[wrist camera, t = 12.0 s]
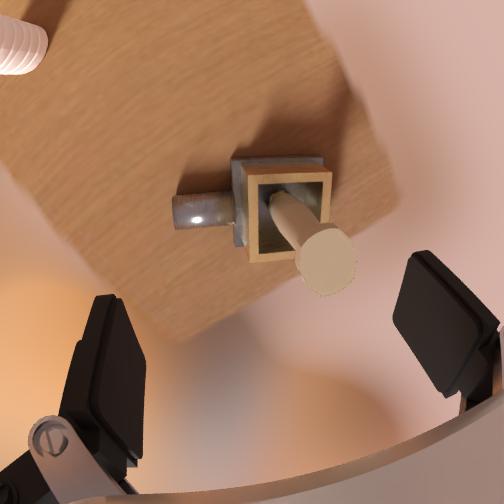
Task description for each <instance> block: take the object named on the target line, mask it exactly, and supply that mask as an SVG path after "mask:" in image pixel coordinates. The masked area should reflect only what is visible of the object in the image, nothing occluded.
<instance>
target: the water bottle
mask: <svg viewBox="0 0 504 504" xmlns="http://www.w3.org/2000/svg"><path fill="white" fill-rule="evenodd" d="M47 47H48V37H47V34H46V32H45V30H44V29H43V28H42V27H40V26H38V25H35V24H31V23H28V22H25V21H21V20H18V19H15V18H11V17H8V16H4V15H1V14H0V74H25V73H28V72H30V71H32V70H33V69H34V68H36V67H37V66H38V64H39V63H40V62H41V61H42V59H43V58H44V56H45V53H46V49H47Z"/></svg>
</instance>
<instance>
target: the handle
mask: <svg viewBox="0 0 504 504" xmlns="http://www.w3.org/2000/svg"><path fill="white" fill-rule="evenodd" d="M269 198H270V202H269V205H268V210H269V212H270V214H271V216H272V219H273V221H274V223H275V224H276V226H277V228H278V229H279V231H280V232H281V233H282V235H283V236H284V237H285V238H286V239H287V241H288V242H289V243H290V244H291V245H292V247H293V248H294V249H295V263H296V266H297V268H298V271H299V273H300V275H301V277H302V279H303V281H304V282H305V284H306V285H307V286H308V287H309V288H310V289H311V290H312V291H314V292H315V293H317V294H318V295H320V296H329V295H332V294H335V293H337V292H339V291H341V290H343V289H344V288H345V287H347V286H348V285H349V284H350V283H351V282H352V280H353V279H354V276H355V272H356V266H357V256H356V252H355V249H354V246H353V243H352V241H351V240H350V239H349V238H348V237H347V236H346V235H345V234H344V233H343V232H342V231H341V230H340V229H339V228H338V227H337V226H335V225H334V224H333V223H322V224H321V223H320V222H319V221H318V220H317V218H316V217H315V216H314V214H313V213H312V212H311V211H310V209H309V208H308V207H307V206H306V205H305V204H304V203H303V202H302V201H301V200H299V199H298V198H297V197H295V196H293V195H291V194H289V193H286V192H285V191H284V190H279V191H278V192H276V193H274V194H271V195H270V196H269Z"/></svg>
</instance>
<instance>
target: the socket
mask: <svg viewBox="0 0 504 504" xmlns="http://www.w3.org/2000/svg"><path fill="white" fill-rule="evenodd" d="M323 160H324V158H323V157H322V156H320V155H289V156H260V157H241V158H230V161H231V187H232V191H220V192H208V193H197V194H187V195H177V196H173V197H172V211H173V220H174V227H175V230H183V229H193V228H203V227H214V226H225V225H233V233H234V244H235V247H242V246H244V247H245V250H246V253H247V256H248V259H249V262H250V263H255V262H265V261H274V260H284V259H293V258H295V249H294V248H293V247H292V245H291V244H290V243H289V242H288V241H287V239H286V238H285V237H284V236H283V235H282V233H281V232H280V231H279V229H278V228H277V226H276V224H275V223H274V221H273V219H272V216H271V214H270V212H269V210H268V205H269V202H270V198H269V196H270V195H271V194H274V193H276V192H278V191H279V190H284V191H285V192H286V193H289V194H291V195H293V196H295V197H297V198H298V199H299V200H301V201H302V202H303V203H304V204H305V205H306V206H307V207H308V208H309V209H310V211H311V212H312V213H313V214H314V216H315V217H316V218H317V220H318V221H319V222H320V223H321V224H322V223H328V222H329V211H330V199H331V186H332V172H331V171H330V170H328V169H327V168H325V167H323Z"/></svg>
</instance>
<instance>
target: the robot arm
mask: <svg viewBox="0 0 504 504" xmlns="http://www.w3.org/2000/svg"><path fill="white" fill-rule="evenodd" d="M393 323H394V325H395V327H396V328H397V329H398V331H399V332H400V334H401V335H402V337H403V338H404V340H405V341H406V343H407V344H408V346H409V347H410V349H411V350H412V352H413V353H414V355H415V356H416V358H417V359H418V361H419V362H420V364H421V365H422V367H423V369H424V370H425V372H426V373H427V375H428V376H429V378H430V379H431V381H432V383H433V384H434V386H435V387H436V389H437V390H438V391H439V392H442V394H443V396H444V397H445V398H448V397H450V396H452V395H454V394H456V393H457V392H458V390H460V392H461V402H460V409H459V416H457V417H455V418H453V419H452V420H449V421H448V422H446V423H444V424H442V425H440V426H438V427H436V428H434V429H432V430H429V431H427V432H425V433H423V434H421V435H418V436H416V437H414V438H412V439H409V440H407V441H405V442H402V443H400V444H398V445H395V446H393V447H390V448H388V449H385V450H382V451H380V452H377V453H375V454H372V455H369V456H366V457H363V458H360V459H358V460H354V461H351V462H348V463H346V464H342V465H338V466H335V467H332V468H328V469H325V470H321V471H317V472H313V473H309V474H306V475H301V476H297V477H293V478H288V479H283V480H278V481H274V482H268V483H262V484H257V485H250V486H244V487H236V488H228V489H220V490H211V491H200V492H186V493H169V494H168V493H167V494H166V493H165V494H139V493H138V492H137V491H136V489H135V488H134V487H133V486H132V485H131V484H130V483H129V482H128V481H127V479H126V478H125V477H126V476H127V473H126V472H127V467H137V459H141V458H142V456H143V416H144V395H145V378H146V360H145V357H144V354H143V352H142V349H141V347H140V345H139V342H138V340H137V337H136V335H135V332H134V330H133V327H132V325H131V322H130V319H129V317H128V314H127V311H126V309H125V306H124V303H123V301H122V299H121V298H116V296H115V295H114V294H109V295H100V296H96V297H95V299H94V302H93V305H92V308H91V311H90V314H89V317H88V321H87V324H86V327H85V330H84V334H83V337H82V340H79V341H78V342H77V344H76V346H75V350H74V353H73V357H72V361H71V364H70V368H69V371H68V375H67V379H66V384H65V387H64V392H63V396H62V400H61V404H60V409H59V414H58V416H54V415H51V416H45V417H43V418H41V419H40V420H38V421H37V422H36V423H35V424H34V425H33V427H32V428H31V430H30V433H29V436H28V446H29V450H28V451H27V452H25V453H24V454H23V455H21V456H20V457H19V458H18V459H16V460H15V461H14V462H12V463H11V464H10V465H9V466H7V467H6V468H5V469H3V470H2V471H1V472H0V504H504V326H503V327H502V328H501V330H500V332H498V331H497V328H498V326H499V324H500V322H499V320H498V319H497V318H496V317H495V316H494V315H493V314H492V313H491V312H490V310H489V309H488V308H487V307H486V306H485V305H484V304H483V303H482V302H481V301H480V300H479V299H478V298H477V297H476V295H474V293H473V292H472V291H471V290H470V289H469V288H468V287H467V286H466V285H465V284H464V283H463V282H462V281H461V280H460V279H459V278H458V277H457V276H456V275H454V273H453V272H452V271H450V269H449V268H447V267H446V266H445V265H444V264H443V263H442V262H441V261H440V260H439V259H438V258H437V257H436V256H435V255H434V254H433V253H432V252H430V251H429V250H424V251H418V252H414V253H413V254H412V255H411V257H410V258H409V259H408V262H407V266H406V270H405V274H404V278H403V282H402V285H401V289H400V292H399V296H398V299H397V303H396V306H395V310H394V313H393Z"/></svg>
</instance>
